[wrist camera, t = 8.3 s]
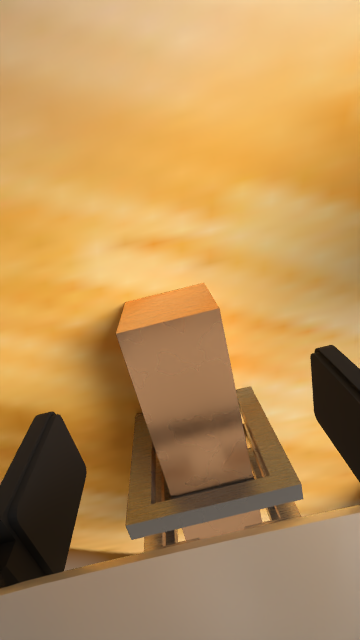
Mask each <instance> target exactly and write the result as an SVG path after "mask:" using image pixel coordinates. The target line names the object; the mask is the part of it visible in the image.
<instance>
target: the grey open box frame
mask: <svg viewBox="0 0 360 640" xmlns="http://www.w3.org/2000/svg"><path fill="white" fill-rule="evenodd" d="M236 394H237V399H238V404H239V409H240V412H241V414H242V417H243V419H244V422H245V424H244V428H245V433H246V435H247V438H248V441H249V443H250V446H251V448H249V449H248V454H249V459H250V464H251V469H252V471H253V474H254V477H255V480H251V481H246V482H242V483H238V484H234V485H230V486H226V487H221V488H217V489H213V490H209V491H205V492H201V493H196V494H192V495H188V496H184V497H180V498H175V499H171V498H170V492H169V489H168V486H167V483H166V480H165V477H164V474H163V471H162V468H161V465H160V462H159V459H158V456H157V453H156V450H155V447H154V444H153V442H152V439H151V436H150V433H149V430H148V427H147V424H146V421H145V418H144V415H143V413H140V414H136V417H135V428H134V439H133V450H132V461H131V472H130V483H129V494H128V505H127V515H126V528H127V530H128V533H129V535H130V537H131V540H133V539H137V538H142V537H144V552H148V551H153V550H157V549H161V548H166V547H170V546H174V545H179V544H183V543H188V542H192V541H196V540H200V538H195V539H191V540H187V541H182V542H178V534H177V529H179V528H184V527H188V526H192V525H196V524H200V523H205V522H209V521H213V520H217V519H221V518H226V517H230V516H234V515H238V514H242V513H247V512H251V511H255V510H259V509H263V508H266V510H267V513H268V516H269V518H270V521H267V522H262V523H258V524H254V525H250V526H245V527H244V529H250V528H254V527H259V526H263V525H268V524H272V523H277V522H281V521H286V520H290V519H295V518H300V517H301V515H300V513H299V511H298V509H297V506H296V504H295V502H294V501H297V500H301V499H303V494H302V486H301V482H300V481H299V479H298V477H297V475H296V473H295V471H294V469H293V467H292V465H291V463H290V461H289V459H288V457H287V456H286V454H285V452H284V450H283V448H282V446H281V444H280V442H279V440H278V438H277V436H276V434H275V432H274V430H273V429H272V427H271V425H270V423H269V421H268V419H267V417H266V415H265V413H264V411H263V409H262V407H261V405H260V404H259V402H258V400H257V398H256V396H255V394H254V392H253V390H252V388H251V387H247V388H243V389H239V390H236Z"/></svg>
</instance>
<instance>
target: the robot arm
mask: <svg viewBox="0 0 360 640" xmlns="http://www.w3.org/2000/svg"><path fill="white" fill-rule="evenodd" d="M311 372H312V387H313V402H314V413H315V416H316V419H317V421H318V422H319V424H320V425H321V427H322V428H323V430H324V431H325V433H326V434H327V435H328V437H329V438H330V440H331V441H332V443H333V444H334V446H335V447H336V449H337V450H338V451H339V453H340V454H341V456H342V457H343V459H344V460H345V462H346V463H347V464H348V466H349V467H350V469H351V470H352V472H353V473H354V475H355V476H356V478H357V479H358V480H359V482H360V369H359V368H358V367H357V366H356V365H355V364H354V363H352V362H351V361H350V360H349V359H348V358H347V357H346V356H345V355H344V354H342V353H341V352H340V351H339V350H338V349H337V348H336V347H335V346H333V345H329V346H325V347H320V348H316V349H315V353H313V354H311ZM85 478H86V466H85V463H84V461H83V459H82V457H81V455H80V453H79V451H78V449H77V447H76V445H75V443H74V441H73V439H72V437H71V435H70V433H69V431H68V429H67V427H66V425H65V423H64V421H63V419H62V417H61V416H60V415H59V414H57V415H56V414H55V413H54V412H48V413H44V414H40V415H37V416H36V417H35V418H34V420H33V422H32V424H31V426H30V428H29V430H28V432H27V434H26V435H25V437H24V439H23V441H22V443H21V445H20V447H19V449H18V451H17V453H16V455H15V457H14V459H13V461H12V463H11V465H10V467H9V469H8V471H7V473H6V475H5V477H4V479H3V480H2V482H1V484H0V640H360V505H356V506H351V507H346V508H341V509H337V510H332V511H327V512H322V513H318V514H313V515H309V516H304V517H300V518H295V519H290V520H286V521H281V522H277V523H272V524H268V525H263V526H259V527H254V528H250V529H245V530H241V531H236V532H232V533H227V534H223V535H219V536H214V537H210V538H205V539H201V540H196V541H192V542H188V543H183V544H179V545H174V546H170V547H166V548H161V549H157V550H153V551H148V552H144V553H140V554H135V555H131V556H127V557H122V558H118V559H114V560H110V561H105V562H101V563H97V564H92V565H88V566H84V567H80V568H75V569H71V570H67V571H64V568H65V564H66V560H67V555H68V551H69V547H70V543H71V538H72V534H73V530H74V526H75V521H76V517H77V513H78V508H79V504H80V500H81V496H82V491H83V487H84V483H85Z"/></svg>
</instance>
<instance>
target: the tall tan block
mask: <svg viewBox="0 0 360 640" xmlns="http://www.w3.org/2000/svg"><path fill="white" fill-rule="evenodd" d="M116 336H117V339H118V342H119V344H120V347H121V350H122V353H123V356H124V359H125V362H126V365H127V368H128V371H129V374H130V377H131V380H132V383H133V386H134V389H135V392H136V394H137V397H138V400H139V403H140V406H141V409H142V412H143V415H144V418H145V421H146V424H147V427H148V430H149V433H150V436H151V439H152V442H153V444H154V447H155V450H156V453H157V456H158V459H159V462H160V465H161V468H162V471H163V474H164V477H165V480H166V483H167V486H168V489H169V492H170V498H171V499H175V498H180V497H184V496H188V495H192V494H196V493H201V492H205V491H209V490H213V489H217V488H221V487H226V486H230V485H234V484H238V483H242V482H246V481H251V480H255V479H254V476H253V473H252V469H251V464H250V459H249V454H248V449H247V444H246V439H245V434H244V429H243V424H242V419H241V414H240V409H239V404H238V399H237V394H236V389H235V384H234V379H233V374H232V369H231V364H230V359H229V354H228V349H227V344H226V339H225V334H224V329H223V324H222V319H221V314H220V309H219V307H218V305H217V304H216V302H215V300H214V299H213V297H212V295H211V294H210V292H209V290H208V289H207V287H206V285H205V284H204V283H201V284H197V285H193V286H189V287H185V288H181V289H177V290H173V291H169V292H165V293H161V294H157V295H153V296H149V297H145V298H141V299H137V300H133V301H129V302H125V305H124V308H123V312H122V315H121V318H120V322H119V325H118V328H117V332H116ZM258 523H262V519H261V514H260V509H259V510H255V511H251V512H247V513H242V514H238V515H234V516H230V517H226V518H221V519H217V520H213V521H209V522H205V523H200V524H196V525H192V526H188V527H184V528H182V530H183V533H184V536H185V539H186V541H187V540H191V539H195V538H200V540H201V539H205V538H210V537H214V536H219V535H223V534H227V533H232V532H236V531H241V530H245V529H244V527H245V526H250V525H254V524H258Z"/></svg>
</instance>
